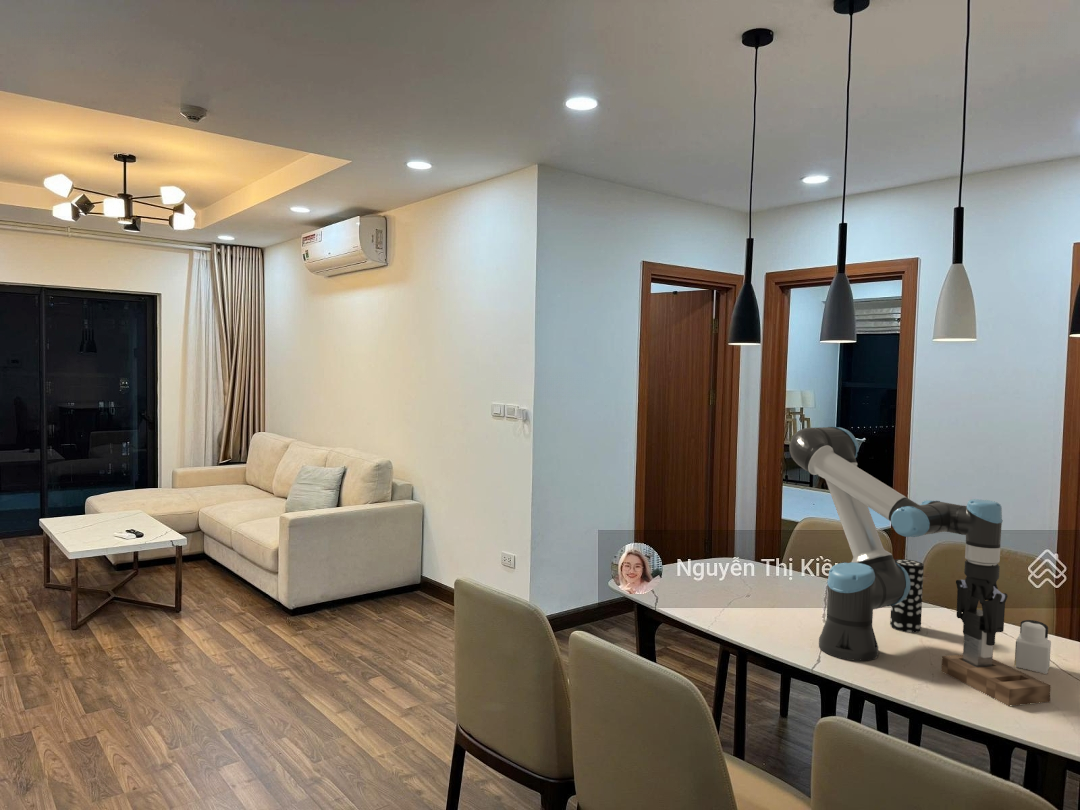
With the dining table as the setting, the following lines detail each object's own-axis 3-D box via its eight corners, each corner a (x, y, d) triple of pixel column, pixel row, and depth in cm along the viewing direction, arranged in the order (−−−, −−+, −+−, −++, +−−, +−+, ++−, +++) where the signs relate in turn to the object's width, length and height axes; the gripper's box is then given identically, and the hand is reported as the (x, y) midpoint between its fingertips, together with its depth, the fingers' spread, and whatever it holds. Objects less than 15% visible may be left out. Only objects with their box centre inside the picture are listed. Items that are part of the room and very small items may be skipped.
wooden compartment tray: (1008, 706, 167) (1009, 689, 167) (941, 671, 186) (941, 656, 186) (1049, 701, 170) (1050, 685, 170) (979, 667, 189) (980, 652, 189)
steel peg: (977, 671, 180) (979, 616, 179) (962, 664, 184) (965, 610, 184) (991, 670, 181) (994, 615, 180) (977, 663, 185) (979, 609, 185)
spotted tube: (924, 633, 214) (927, 567, 213) (894, 631, 216) (897, 565, 215) (915, 624, 222) (918, 560, 221) (886, 621, 224) (889, 558, 223)
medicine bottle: (1017, 659, 196) (1019, 615, 195) (1049, 666, 191) (1052, 622, 191) (1014, 667, 190) (1016, 622, 190) (1047, 674, 186) (1049, 629, 185)
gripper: (1025, 570, 174) (1020, 665, 175) (966, 552, 191) (962, 639, 192) (1000, 571, 172) (995, 667, 173) (942, 553, 189) (938, 641, 190)
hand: (977, 652), depth 182 cm, fingers closed on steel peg, 4 cm apart
